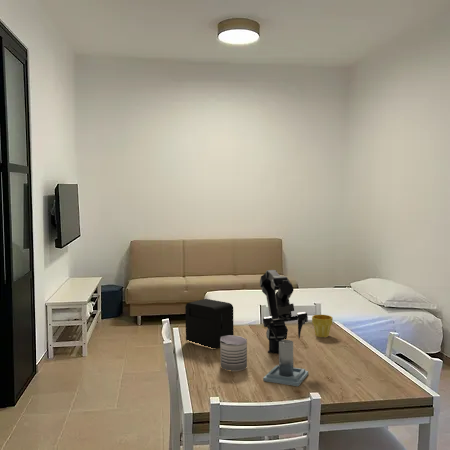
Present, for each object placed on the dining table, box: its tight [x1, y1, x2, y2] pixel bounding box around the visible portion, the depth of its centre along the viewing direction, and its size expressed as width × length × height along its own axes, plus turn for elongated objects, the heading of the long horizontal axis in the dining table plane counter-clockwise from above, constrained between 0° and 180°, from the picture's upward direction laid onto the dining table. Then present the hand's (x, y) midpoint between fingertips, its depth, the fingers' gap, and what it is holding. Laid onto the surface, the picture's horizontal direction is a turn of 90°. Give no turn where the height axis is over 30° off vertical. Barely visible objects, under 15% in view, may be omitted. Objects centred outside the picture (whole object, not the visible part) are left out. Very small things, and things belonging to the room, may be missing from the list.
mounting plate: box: [262, 364, 309, 387], centre depth 191 cm, size 14×14×2 cm
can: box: [219, 335, 248, 372], centre depth 204 cm, size 11×11×12 cm
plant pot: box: [311, 314, 334, 338], centre depth 248 cm, size 10×10×10 cm
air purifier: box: [184, 298, 235, 349], centre depth 237 cm, size 20×15×20 cm
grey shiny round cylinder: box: [278, 339, 294, 377], centre depth 191 cm, size 6×6×13 cm
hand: (288, 339), depth 201 cm, fingers open, 9 cm apart
